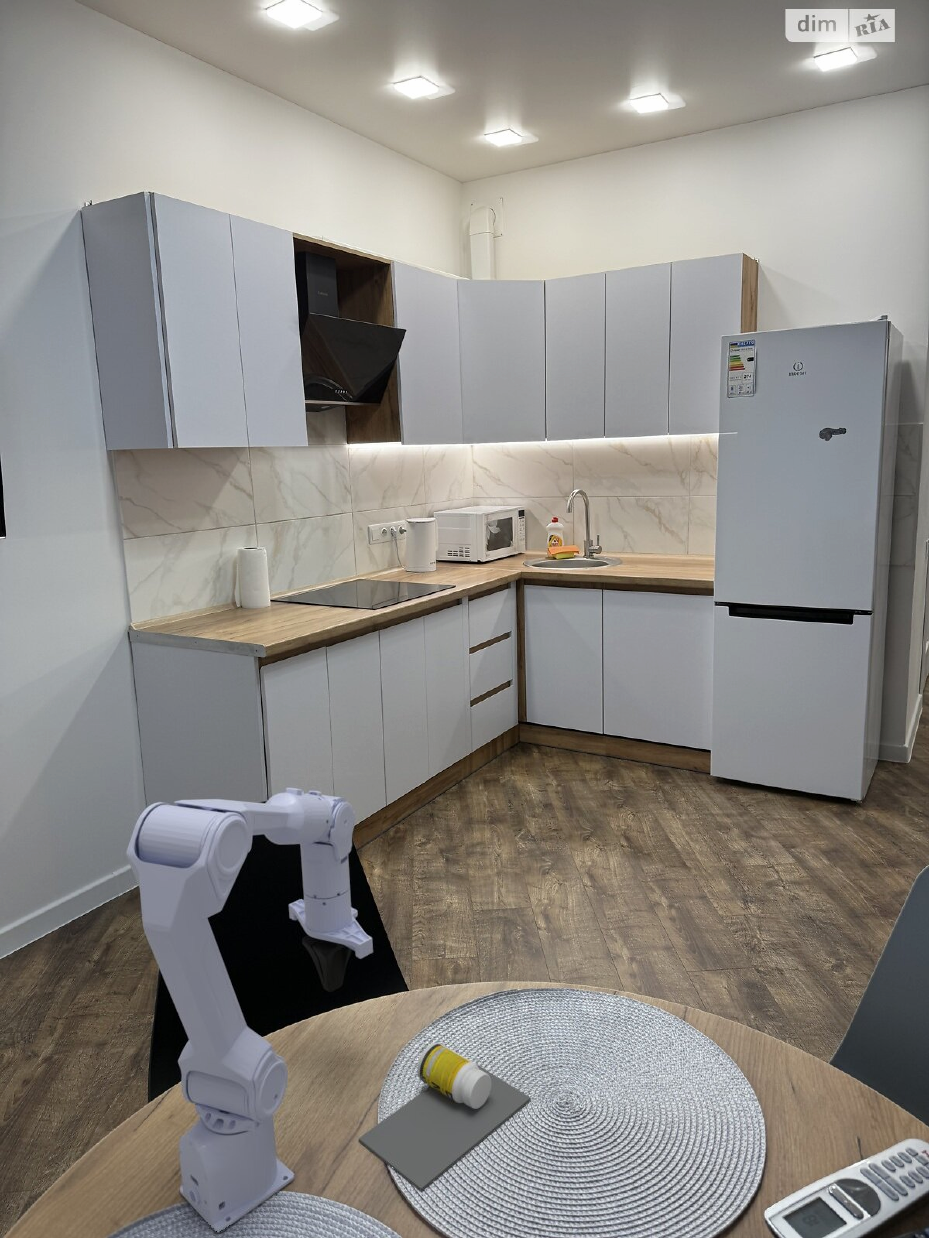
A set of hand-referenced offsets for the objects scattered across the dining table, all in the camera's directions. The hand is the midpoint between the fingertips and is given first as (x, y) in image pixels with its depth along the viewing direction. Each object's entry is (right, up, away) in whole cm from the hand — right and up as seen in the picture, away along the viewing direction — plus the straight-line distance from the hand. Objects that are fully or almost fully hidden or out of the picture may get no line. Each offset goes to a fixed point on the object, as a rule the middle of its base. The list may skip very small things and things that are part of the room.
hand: (333, 986), depth 113 cm
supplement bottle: (+12, -8, -3) cm, 15 cm away
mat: (+15, -12, -9) cm, 21 cm away
